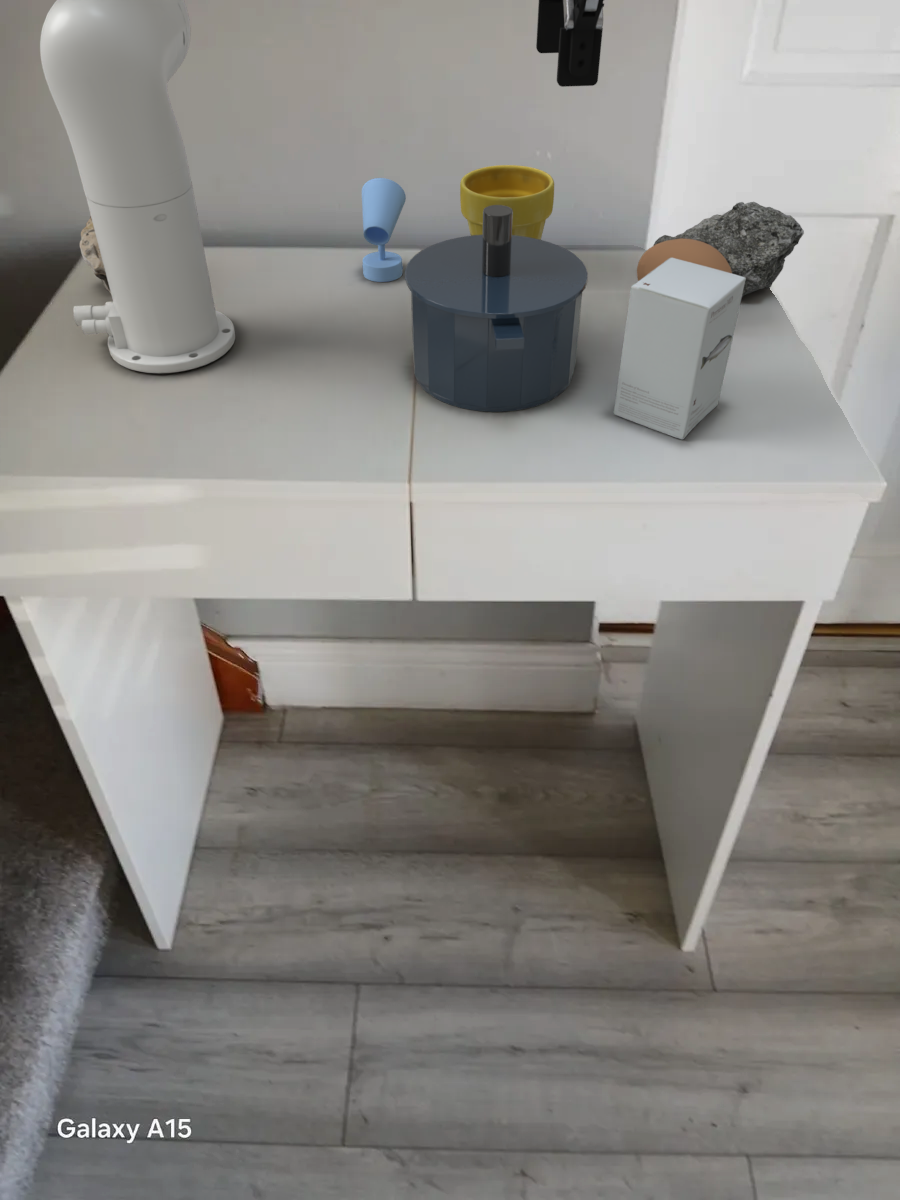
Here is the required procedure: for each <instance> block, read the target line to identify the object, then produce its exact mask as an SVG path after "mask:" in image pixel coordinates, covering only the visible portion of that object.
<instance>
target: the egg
mask: <svg viewBox="0 0 900 1200" xmlns="http://www.w3.org/2000/svg"><path fill="white" fill-rule="evenodd" d="M653 245H654V244H653ZM653 245H652V246H651V247H649V248H648V249H646V251H644V253H643V254H642V255H641V257H640V258H639V261H638V263H637V268H636V276H637V282H638V281H639V280H641V279H642V278H643V277H645V276H646V275H647V274H649V273H650V272H651V271H653V270H654V269H656V268H657V267H658V266H660V265H661V264H662V263H664V262H665V261H666V260H668V259H669V258H675V259H679V260H683V261H687V262H691V263H695V264H698V265H702V266H706V267H710V268H714V269H717V270H721V271H724V272H728V273H732V271H731V268H730V266H729V264H728V262H727V260H726V259H725V257H724V256H723V255H722V254H721V253H720V252H719V251H718V250H717V249H715V248H714V247H712V246H711V245H709V244H706V243H704V242H701V241H697V240H693V239H682V238H681V239H674V240H667V241H664V242H661V243H658V244H656V245H654V246H653Z"/></svg>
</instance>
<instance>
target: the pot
mask: <svg viewBox="0 0 900 1200" xmlns="http://www.w3.org/2000/svg"><path fill="white" fill-rule="evenodd" d="M582 298H583V293H582V294H581V295H580V296H579V297H578V298H576V299H575V300H574V301H572V302H571V303H569V304H567V305H565V306H563V307H561V308H559V309H556V310H553V311H550V312H547V313H543V314H539V315H534V316H528V317H521V318H509V319H489V318H476V317H468V316H463V315H457V314H454V313H450V312H446V311H443V310H440V309H437V308H435V307H433V306H430V305H428V304H426V303H425V302H423V301H421V300H420V299H419V298H417V297H416V296H415V295H414V294H413V293H412V292H411V291H410V309H411V312H410V313H411V314H410V315H411V341H412V363H413V374H414V378H415V380H416V382H417V384H418V385H419V386H420V388H421V389H422V390H423V391H425V392H426V394H428V395H430V396H431V397H433V398H435V400H438V401H440V402H442V403H445V404H448V405H450V406H453V407H456V408H460V409H464V410H470V411H477V412H487V413H488V412H489V413H501V412H502V413H503V412H505V413H506V412H514V411H521V410H527V409H530V408H534V407H537V406H541V405H543V404H545V403H547V402H550V401H552V400H553V399H556V398H557V397H558V396H559V395H562V393H564V392H565V390H566V389H567V388H568V387H569V385H570V383H572V379H573V377H574V373H575V370H576V361H577V352H578V351H577V350H578V341H579V332H580V331H579V330H580V329H579V328H580V318H581V308H582Z"/></svg>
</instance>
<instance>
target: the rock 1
mask: <svg viewBox="0 0 900 1200" xmlns="http://www.w3.org/2000/svg"><path fill="white" fill-rule="evenodd" d="M80 231H81V232H80V241H79V248H80V253H81V256H82V258H83V260H84V262H85V263H86V264H87V265H88V266H89V268H90V269H91V271H92V272H93V274H94V275H95V277H96V278H98V279H99V280H100V281H101V282H102V284H103V286H104V288H105V290H106V291H108V292H109V293H110V294H111V291H110V288H109V284H108V280H107V276H106V272H105V268H104V265H103V261H102V257H101V253H100V249H99V245H98V241H97V238H96V234H95V230H94V226H93V222H92V218H91V215H90V217H89V219H88V220H87V222H86V223H85V227H83V228H82V229H81V230H80Z"/></svg>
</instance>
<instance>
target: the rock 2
mask: <svg viewBox="0 0 900 1200" xmlns="http://www.w3.org/2000/svg"><path fill="white" fill-rule="evenodd" d="M804 234H805V230H804V229H803V227H802V226H801V224H800V223H799V222H798V221H797V220H796V219H795V218H794V217H793V216H792V215H788V214H786V213H783V212H782V211H780V210H779V209H776V208H773V207H771V206H763V205H760V204H759V203H757V202H755V201H750V202H749V201H748V202H746V203H744V201H739V202H736V203H735V205H733V206H732V208H731V209H729V210H728V211H727V212H725V213H723V214H714V215H711V217H707V218H703V219H702V220H701V221H700V222H699V223H697V224H695V225H694V226H692V227H690V228H688V229H686V230H685V231H684V232H683V233H679V234H677V235H675V236H671V235H667V234H664V235H662V236H660V237H658V238H657V239H656V240H655V242H654V244H653V245H652V246H654V245H656V244H658V243H661V242H664V241H667V240H674V239H681V238H682V239H693V240H697V241H701V242H704V243H706V244H709V245H711V246H712V247H714V248H715V249H717V250H718V251H719V252H720V253H721V254H722V255H723V256H724V257H725V259H726V260H727V262H728V264H729V266H730V268H731V271H732V274H735V275H739V276H742V277H745V278H746V280H745V284H744V289H743V293H742V297H744V296H746V295H748V294H752V293H753V292H757V291H759V290H763V289H764V288H765V289H768V290H769V289H770V288H771V287H772V286H773V283H774V282H775V281H776V279H777V278H778V276H779V275H780V274H781V272H782V271H783V269H784V267H785V266H784V265H785V262H786V258H788V256H790V255H791V254H792V253H793V251H794V249H795V247H796V246H797V245H799V243H800V240H801V239H802V237H803V236H804Z"/></svg>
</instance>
